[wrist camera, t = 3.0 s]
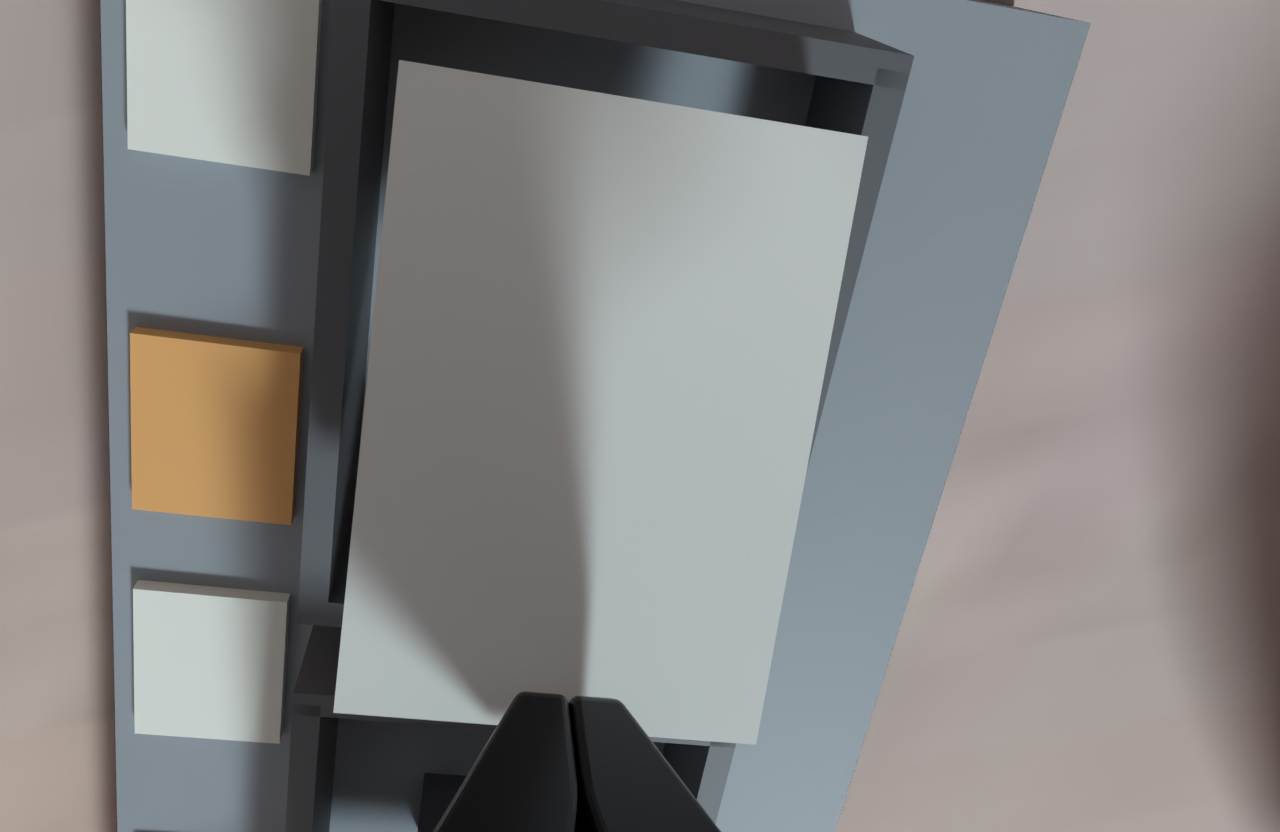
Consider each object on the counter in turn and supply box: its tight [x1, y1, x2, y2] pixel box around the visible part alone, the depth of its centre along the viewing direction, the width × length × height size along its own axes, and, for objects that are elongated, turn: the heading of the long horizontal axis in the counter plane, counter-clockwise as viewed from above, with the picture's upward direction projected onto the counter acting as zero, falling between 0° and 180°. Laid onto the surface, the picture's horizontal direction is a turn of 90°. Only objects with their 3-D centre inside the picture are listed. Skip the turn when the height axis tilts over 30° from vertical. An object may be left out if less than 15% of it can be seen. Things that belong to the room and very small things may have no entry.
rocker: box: [333, 60, 868, 745], centre depth 9 cm, size 4×5×1 cm
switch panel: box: [100, 0, 1091, 832], centre depth 15 cm, size 10×23×4 cm, turn 170°
